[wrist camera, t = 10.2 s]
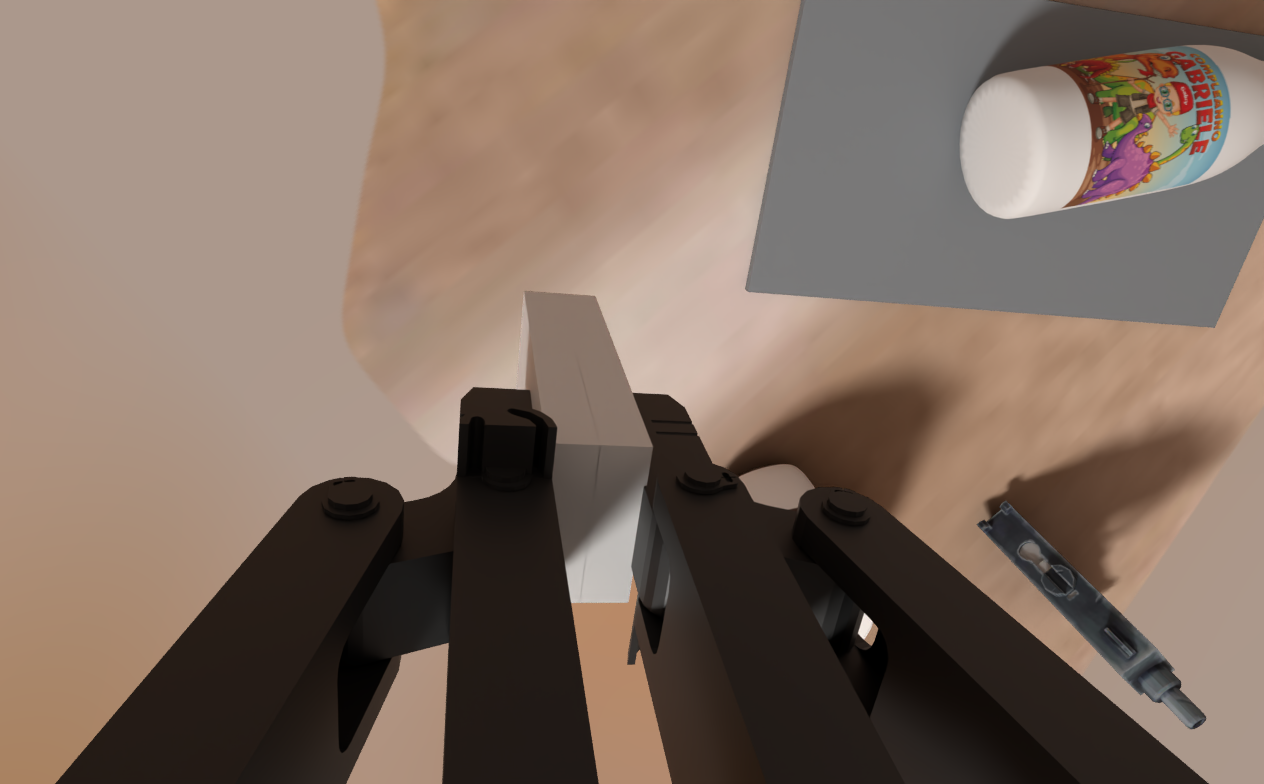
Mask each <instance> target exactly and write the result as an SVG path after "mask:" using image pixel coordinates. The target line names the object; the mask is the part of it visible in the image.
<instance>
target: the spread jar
mask: <svg viewBox="0 0 1264 784" xmlns="http://www.w3.org/2000/svg"><path fill="white" fill-rule="evenodd" d="M738 477H739V478H740V480H741V481H742V482H743V483H744V484H745V486H746V488H747V490H748V492H749V494H750V496H751V497H752V499H753V501H754V502H757V503H761V504H764V505H768V506H773V507H778V508H782V509H787V510H792V511H797V508H798V504H799V500H800V497H801V496H802V495H803V494H804V493H805V492H806V491H808V490H811V489H815V487H814V486H813V485H812V483H811V482H810V480H809V479H808V478H807V477H806V475H805V474H804V473H803V472H802V471H801V470H800V469H799V468H797V467H796V466H794V465H790V464H773V465H767V466H762V467H758V468H755V469H752V470H749V471H747V472H744V473H742V474H740V475H738ZM872 624H873V621H872V620H871V619H870V618H869V617H868V616H867V615H866V614H865V613H864V616H863V619H862V622H861V625H860V629H859V632H858V634H859V635H860V636H861V637H862V638H863V639H865V637H866V636H867V634H868V633H869V631H870V629H871V627H872Z"/></svg>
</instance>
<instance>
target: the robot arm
mask: <svg viewBox="0 0 1264 784" xmlns="http://www.w3.org/2000/svg"><path fill="white" fill-rule="evenodd" d="M632 575H633V576H634V580H635V583H636V587H637V591H638V596H637V602H636V608H635V614H634V621H633V626H632V633H631V639H630V645H629V651H628V665H632V664H635V660H636V653H637V652H638V651H639V650H640V651H641V656H642V659H643V664H644V668H645V672H646V676H647V681H648V685H649V689H650V693H651V697H652V701H653V706H654V710H655V714H656V718H657V722H658V726H659V731H660V735H661V739H662V743H663V747H664V752H665V756H666V760H667V764H668V768H669V772H670V777H671V781H672V784H1208V783H1207V782H1206V781H1205V780H1204V779H1203V778H1201V777H1200V776H1199V775H1198V774H1197V773H1195V772H1194V771H1193V770H1192V769H1190V767H1188V766H1187V765H1186V764H1185V763H1184V762H1182V761H1181V760H1180V759H1179V758H1178V757H1177V756H1175V755H1174V754H1173V753H1172V752H1171V751H1169V750H1168V749H1167V748H1166V747H1165V746H1164V745H1162V744H1161V743H1160V742H1159V741H1158V740H1156V739H1155V738H1154V737H1153V736H1152V735H1151V734H1149V733H1148V732H1147V731H1146V730H1145V729H1143V728H1142V727H1141V726H1140V725H1139V724H1138V723H1136V722H1135V721H1134V720H1133V719H1132V718H1131V717H1129V716H1128V715H1127V714H1126V713H1125V712H1123V711H1122V710H1121V709H1120V708H1119V707H1118V706H1116V705H1115V704H1114V703H1113V702H1112V701H1110V700H1109V699H1108V698H1107V697H1106V696H1105V695H1103V694H1102V693H1101V692H1100V691H1099V690H1098V689H1096V688H1095V687H1094V686H1093V685H1092V684H1090V683H1089V682H1088V681H1087V680H1086V679H1085V678H1083V677H1082V676H1081V675H1080V674H1079V673H1077V672H1076V671H1075V670H1074V669H1073V668H1072V667H1070V666H1069V665H1068V664H1067V663H1066V662H1064V661H1063V660H1062V659H1061V658H1060V657H1059V656H1057V655H1056V654H1055V653H1054V652H1053V651H1052V650H1050V649H1049V648H1048V647H1047V646H1046V645H1044V644H1043V643H1042V642H1041V641H1040V640H1039V639H1037V638H1036V637H1035V636H1034V635H1033V634H1031V633H1030V632H1029V631H1028V630H1027V629H1026V628H1024V627H1023V626H1022V625H1021V624H1020V623H1018V622H1017V621H1016V620H1015V619H1014V618H1013V617H1011V616H1010V615H1009V614H1008V613H1007V612H1005V611H1004V610H1003V609H1002V608H1001V607H1000V606H998V605H997V604H996V603H995V602H994V601H993V600H991V599H990V598H989V597H988V596H987V595H985V594H984V593H983V592H982V591H981V590H980V589H978V588H977V587H976V586H975V585H974V584H972V583H971V582H970V581H969V580H968V579H967V578H965V577H964V576H963V575H962V574H961V573H959V572H958V571H957V570H956V569H955V568H954V567H952V566H951V565H950V564H949V563H948V562H947V561H945V560H944V559H943V558H942V557H941V556H939V555H938V554H937V553H936V552H935V551H934V550H932V549H931V548H930V547H929V546H928V545H926V544H925V543H924V542H923V541H922V540H921V539H919V538H918V537H917V536H916V535H915V534H913V533H912V532H911V531H910V530H909V529H908V528H906V527H905V526H904V525H903V524H902V523H900V522H899V521H898V520H897V519H896V518H895V517H893V516H892V515H891V514H890V513H889V512H888V511H886V510H885V509H884V508H883V507H882V506H880V505H879V504H877V503H876V502H874V501H873V500H871V499H869V498H868V497H865V496H863V495H860V494H858V493H856V492H855V491H853V490H849V489H845V488H844V489H842V488H839V487H818V488H815V489H811V490H808V491H806V492H805V493H804V494H803V495H802V496H801V497H800V500H799V504H798V508H797V511H792V510H787V509H782V508H778V507H773V506H768V505H764V504H761V503H757V502H754V501H753V499H752V497H751V496H750V494H749V492H748V490H747V488H746V486H745V484H744V483H743V482H742V481H741V480H740V478H739V477H738V476H737V475H736V474H734V473H732V472H731V471H729V470H727V469H725V468H724V467H721V466H718V465H715V464H713V463H712V461H711V459H710V457H709V455H708V453H707V451H706V449H705V447H704V445H703V443H702V441H701V439H700V437H699V436H697V431H696V429H695V427H694V425H693V424H692V421H691V419H690V417H689V415H688V413H687V411H686V409H685V407H683V406H682V405H681V404H679V403H678V402H677V401H675V400H674V399H673V398H671V397H670V396H669V395H664V394H643V393H632V391H631V388H630V386H629V383H628V380H627V378H626V375H625V373H624V370H623V367H622V365H621V362H620V359H619V357H618V354H617V352H616V349H615V346H614V344H613V341H612V339H611V336H610V333H609V331H608V328H607V325H606V323H605V320H604V318H603V315H602V312H601V310H600V307H599V305H598V302H597V299H596V297H595V296H587V295H574V294H560V293H546V292H533V291H524V297H523V310H522V322H521V335H520V347H519V360H518V373H517V385H516V389H499V388H478V387H473V388H472V389H471V390H470V391H469V392H468V393H467V394H466V395H465V396H464V397H463V398H462V399H461V407H460V424H459V444H458V464H457V475H456V478H455V480H454V481H453V482H452V483H451V485H450V486H449V487H447V488H446V489H444V490H443V491H441V492H440V493H438V494H435V495H432V496H430V497H427V498H423V499H419V500H414V501H408V502H404V500H403V498H402V496H401V494H400V492H399V491H398V490H397V489H395V488H394V487H392V486H391V485H389V484H387V483H385V482H381V481H378V480H374V479H371V478H357V477H344V478H337V479H333V480H328V481H326V482H323V483H320V484H318V485H315V486H312V487H311V488H309V489H308V490H307V491H306V492H304V493H303V494H302V495H300V496H299V497H298V498H297V500H296V501H295V502H294V503H293V504H292V506H291V507H290V508H289V509H288V510H287V512H286V513H285V514H284V515H283V516H282V517H281V519H280V520H279V521H278V522H277V523H276V524H275V526H274V527H273V528H272V529H271V530H270V531H269V533H268V534H267V535H266V536H265V537H264V538H263V540H262V541H261V542H260V543H259V544H258V546H257V547H256V548H255V549H254V550H253V552H252V553H251V554H250V555H249V556H248V557H247V559H246V560H245V561H244V562H243V563H242V564H241V566H240V567H239V568H238V569H237V570H236V572H235V573H234V574H233V575H232V576H231V577H230V579H229V580H228V581H227V582H226V583H225V585H224V586H223V587H222V588H221V589H220V590H219V591H218V593H217V594H216V595H215V596H214V597H213V599H212V600H211V601H210V602H209V603H208V605H207V606H206V607H205V608H204V609H203V610H202V612H201V613H200V614H199V615H198V616H197V618H196V619H195V620H194V621H193V622H192V623H191V624H190V626H189V627H188V628H187V629H186V630H185V631H184V633H183V634H182V635H181V636H180V637H179V639H178V640H177V641H176V642H175V643H174V644H173V646H172V647H171V648H170V649H169V650H168V652H167V653H166V654H165V655H164V656H163V658H162V659H161V660H160V661H159V662H158V663H157V665H156V666H155V667H154V668H153V669H152V670H151V672H150V673H149V674H148V675H147V676H146V677H145V679H144V680H143V681H142V682H141V683H140V685H139V686H138V687H137V688H136V689H135V690H134V692H133V693H132V694H131V695H130V696H129V697H128V699H127V700H126V701H125V702H124V703H123V704H122V706H121V707H120V708H119V709H118V710H117V712H116V713H115V714H114V715H113V716H112V718H111V719H110V720H109V721H108V722H107V723H106V725H105V726H104V727H103V728H102V729H101V731H100V732H99V733H98V734H97V735H96V736H95V737H94V739H93V740H92V741H91V742H90V743H89V745H88V746H87V747H86V748H85V749H84V750H83V752H82V753H81V754H80V755H79V756H78V758H77V759H76V760H75V761H74V762H73V763H72V765H71V766H70V767H69V768H68V769H67V771H66V772H65V773H64V774H63V775H62V776H61V777H60V779H59V780H58V781H57V782H56V783H55V784H346V783H347V780H348V778H349V776H350V774H351V772H352V770H353V767H354V766H355V763H356V761H357V759H358V757H359V754H360V753H361V750H362V748H363V746H364V744H365V742H366V740H367V738H368V735H369V733H370V731H371V729H372V727H373V724H374V722H375V720H376V718H377V716H378V714H379V712H380V710H381V707H382V705H383V703H384V701H385V698H386V697H387V694H388V692H389V690H390V688H391V686H392V684H393V681H394V679H395V677H396V675H397V673H398V671H399V666H400V660H401V655H403V654H407V653H410V652H414V651H418V650H422V649H426V648H430V647H433V646H438V645H441V644H446V643H449V649H448V671H447V693H446V713H445V736H444V757H443V778H442V784H599V783H598V776H597V770H596V763H595V757H594V750H593V743H592V737H591V730H590V724H589V718H588V711H587V704H586V698H585V691H584V685H583V678H582V671H581V665H580V658H579V652H578V645H577V639H576V632H575V626H574V620H573V612H572V606H571V603H628V600H629V594H630V588H631V582H632ZM864 613H865V614H866V615H867V616H868V617H869V618H870V619H871V620H872V621H873V623H874V624H875V625H876V626H877V627H878V632H877V635H876V638H875V641H874V643H873V645H872V646H871V645H869V644H868V643H867V642H865V641H864V639H863V638H862V637H861V636H860V635H859V634H858V632H859V629H860V625H861V622H862V619H863V616H864Z"/></svg>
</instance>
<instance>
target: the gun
mask: <svg viewBox="0 0 1264 784" xmlns="http://www.w3.org/2000/svg"><path fill="white" fill-rule="evenodd" d="M1000 508H1001V510H1000V511H999V512H998V513H996V514H995V515H994V516H993V517H992V518H990V519H989V520H988V521H987V522H986V521H985V520H983V521H980V522H979V523H978V524H977V526H978V527H979V528H980V529H981V530H982V531H983V532H984V533H985V534H986V535H987V536H988V537H989V538H990V539H991V540H992V541H993V542H994V543H995V544H996V545H997V547H998V548H999V549H1000V550H1001V551H1002V552H1003V553H1004V554H1005V555H1006V556H1007V557H1008V558H1009V559H1010V560H1011V561H1012V562H1013V563H1014V564H1015V565H1016V566H1017V568H1018V569H1019V570H1020V571H1021V572H1022V573H1023V574H1024V575H1025V576H1026V577H1027V578H1028V579H1029V580H1030V581H1031V582H1032V583H1033V584H1034V585H1035V586H1036V587H1037V589H1038V590H1039V591H1040V592H1041V593H1042V594H1043V595H1044V596H1045V597H1046V598H1047V599H1048V600H1049V601H1050V602H1051V603H1052V604H1053V605H1054V606H1055V607H1056V609H1057V610H1058V611H1059V612H1060V613H1061V614H1062V615H1063V616H1064V617H1065V618H1066V619H1067V620H1068V621H1069V622H1070V623H1071V624H1072V625H1073V626H1074V627H1075V628H1076V630H1077V631H1078V632H1079V633H1080V634H1081V635H1082V636H1083V637H1084V638H1085V639H1086V640H1087V641H1088V642H1089V643H1090V644H1091V645H1092V646H1093V647H1094V648H1095V650H1096V651H1097V652H1098V653H1099V654H1100V655H1102V657H1103V658H1104V659H1105V660H1106V661H1107V662H1108V663H1109V664H1110V665H1111V666H1112V667H1113V668H1114V669H1115V671H1116V672H1117V673H1118V674H1119V675H1120V676H1121V677H1122V678H1123V679H1124V680H1125V681H1127V683H1129V684H1130V685H1131V686H1132V687H1133V688H1134V689H1135V690H1136V691H1137V692H1138V693H1139V694H1140V695H1142V694H1143V693H1145V694H1146V695H1147V696H1148V697H1149V698H1150V699H1151V700H1152V701H1153V702H1158V703H1161V702H1163V703H1164V704H1165V705H1166V706H1167V707H1168V708H1169V709H1170V710H1171V711H1172V712H1173V713H1174V714H1175V715H1176V716H1177V717H1178V718H1179V719H1180V720H1181V721H1182V722H1183V723H1184V724H1185V725H1186V726H1187V727H1188V728H1190V729H1195V728H1197V727H1199V726H1200V725H1202V724H1203V723H1204V722H1205V721H1206V716H1205V715H1204V713H1202V712H1201V710H1200V709H1199V708H1198V707H1196V705H1195V704H1194V703H1192V702H1191V700H1190V699H1189V698H1188V697H1186V695H1185V694H1183V693H1182V692H1181V691H1180V690H1179V689H1180V688H1181V681H1180V680H1179V679H1178V678H1177V677H1176V676H1175V675H1174V674H1173V673H1172V672H1173V671H1174V668H1173V667H1172V666H1171V665H1170V663H1169V662H1168V661H1167V660H1166V659H1165V658H1164V656H1162V654H1161V653H1160V652H1159V651H1158V649H1157V648H1156V647H1155V646H1154V645H1153V644H1152V643H1151V642H1150V641H1149V640H1148V639H1146V638H1145V636H1143V635H1142V634H1141V633H1140V632H1139V631H1138V630H1137V629H1136V628H1135V627H1134V626H1133V625H1132V624H1131V623H1130V622H1129V621H1128V620H1127V619H1126V618H1125V617H1124V616H1123V615H1122V614H1121V613H1120V612H1119V611H1118V610H1117V609H1116V608H1115V607H1114V606H1113V605H1112V604H1111V603H1110V602H1109V601H1108V600H1107V599H1106V598H1105V597H1104V596H1103V595H1102V594H1101V593H1100V592H1099V591H1097V590H1096V589H1095V588H1094V587H1093V586H1092V585H1091V584H1090V583H1089V582H1088V581H1087V580H1086V579H1085V578H1084V577H1083V576H1082V575H1081V574H1080V573H1079V572H1078V571H1077V570H1076V569H1075V568H1074V567H1073V566H1072V565H1071V564H1070V563H1069V562H1068V561H1067V560H1066V559H1065V558H1064V557H1063V556H1062V555H1061V554H1060V553H1059V552H1058V551H1057V550H1056V549H1055V548H1054V547H1052V546H1051V545H1050V544H1049V543H1048V542H1047V541H1046V540H1045V539H1044V538H1043V537H1042V536H1041V535H1040V534H1039V533H1038V532H1037V531H1036V530H1035V529H1034V528H1033V527H1032V526H1031V525H1030V524H1029V523H1028V522H1027V521H1026V520H1025V519H1024V518H1023V517H1022V516H1021V515H1020V514H1019V513H1018V512H1017V511H1016V510H1015V509H1014V508H1013V507H1012V506H1011V505H1010V504H1009V503H1008V502H1007V501H1004V502H1003V503H1002V504H1001V506H1000Z"/></svg>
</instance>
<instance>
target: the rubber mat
mask: <svg viewBox="0 0 1264 784" xmlns="http://www.w3.org/2000/svg"><path fill="white" fill-rule="evenodd" d="M1184 45H1212V46H1220V47H1225V48H1229V49H1233V50H1237V51H1239V52H1242V53H1244V54H1247V55H1249V56H1251V57H1253V58H1255V59H1258V60H1261V61H1264V36H1261V35H1255V34H1249V33H1243V32H1237V31H1231V30H1225V29H1218V28H1212V27H1206V26H1200V25H1194V24H1188V23H1182V22H1176V21H1170V20H1164V19H1158V18H1152V17H1146V16H1140V15H1134V14H1128V13H1121V12H1115V11H1109V10H1103V9H1097V8H1091V7H1085V6H1079V5H1073V4H1067V3H1061V2H1055V1H1049V0H801V5H800V10H799V15H798V20H797V25H796V30H795V35H794V41H793V46H792V51H791V56H790V61H789V66H788V72H787V77H786V82H785V87H784V92H783V97H782V102H781V108H780V113H779V118H778V123H777V128H776V133H775V138H774V144H773V149H772V154H771V159H770V164H769V169H768V175H767V180H766V185H765V190H764V195H763V200H762V205H761V211H760V216H759V221H758V226H757V231H756V236H755V241H754V247H753V252H752V257H751V262H750V267H749V272H748V278H747V283H746V288H745V289H746V290H747V291H748V292H756V293H769V294H782V295H795V296H808V297H821V298H834V299H847V300H860V301H873V302H886V303H899V304H912V305H925V306H938V307H951V308H964V309H977V310H990V311H1003V312H1016V313H1029V314H1042V315H1055V316H1068V317H1081V318H1094V319H1107V320H1120V321H1133V322H1146V323H1159V324H1172V325H1185V326H1198V327H1211V328H1215V326H1216V324H1217V321H1218V319H1219V317H1220V315H1221V312H1222V310H1223V308H1224V306H1225V304H1226V301H1227V299H1228V297H1229V295H1230V292H1231V290H1232V288H1233V286H1234V283H1235V281H1236V279H1237V277H1238V274H1239V272H1240V270H1241V268H1242V265H1243V263H1244V261H1245V259H1246V257H1247V254H1248V252H1249V250H1250V248H1251V245H1252V243H1253V241H1254V239H1255V236H1256V234H1257V232H1258V230H1259V227H1260V225H1261V223H1262V221H1263V219H1264V144H1263V145H1262V146H1260V147H1259V148H1257V149H1256V150H1255V151H1254V152H1252V153H1251V154H1250V155H1248V156H1247V157H1246V158H1245V159H1243V160H1242V161H1240V162H1239V163H1238V164H1236V165H1235V166H1233V167H1231V168H1229V169H1228V170H1226V171H1224V172H1222V173H1220V174H1218V175H1216V176H1213V177H1211V178H1209V179H1206V180H1203V181H1200V182H1197V183H1194V184H1190V185H1186V186H1182V187H1178V188H1173V189H1169V190H1165V191H1160V192H1155V193H1150V194H1145V195H1140V196H1135V197H1129V198H1124V199H1119V200H1114V201H1109V202H1103V203H1098V204H1092V205H1087V206H1082V207H1076V208H1071V209H1066V210H1060V211H1055V212H1049V213H1044V214H1038V215H1033V216H1026V217H1020V218H1013V219H1003V218H999V217H995V216H992V215H990V214H988V213H986V212H985V211H984V210H983V209H981V208H980V207H979V206H978V204H977V203H976V202H975V201H974V199H973V198H972V196H971V194H970V192H969V190H968V188H967V185H966V183H965V180H964V176H963V172H962V168H961V160H960V145H959V143H960V130H961V125H962V119H963V116H964V113H965V110H966V107H967V105H968V103H969V101H970V98H971V97H972V95H973V94H974V92H975V91H976V89H978V88H979V87H980V86H981V85H982V84H983V83H984V82H986V81H987V80H989V79H990V78H992V77H994V76H996V75H998V74H1002V73H1007V72H1012V71H1017V70H1023V69H1029V68H1035V67H1041V66H1047V65H1053V64H1060V63H1066V62H1072V61H1079V60H1085V59H1091V58H1097V57H1104V56H1110V55H1117V54H1124V53H1130V52H1137V51H1144V50H1150V49H1158V48H1167V47H1175V46H1184Z"/></svg>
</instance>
